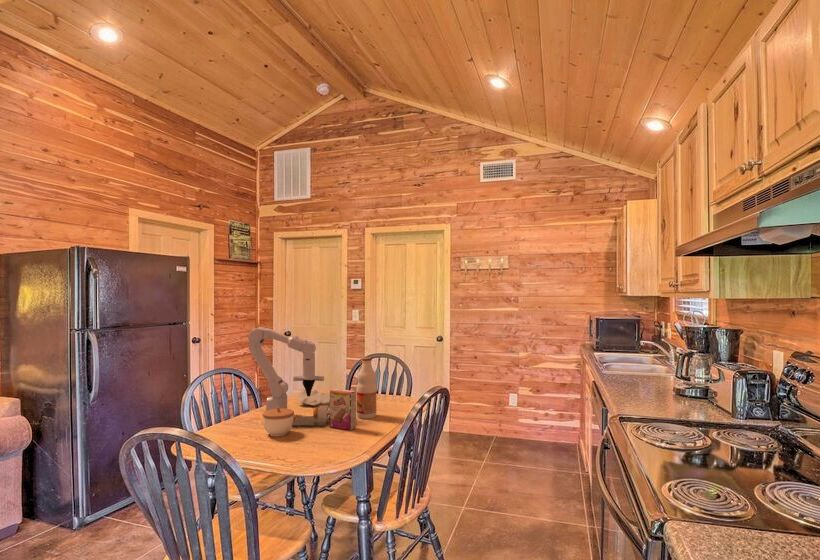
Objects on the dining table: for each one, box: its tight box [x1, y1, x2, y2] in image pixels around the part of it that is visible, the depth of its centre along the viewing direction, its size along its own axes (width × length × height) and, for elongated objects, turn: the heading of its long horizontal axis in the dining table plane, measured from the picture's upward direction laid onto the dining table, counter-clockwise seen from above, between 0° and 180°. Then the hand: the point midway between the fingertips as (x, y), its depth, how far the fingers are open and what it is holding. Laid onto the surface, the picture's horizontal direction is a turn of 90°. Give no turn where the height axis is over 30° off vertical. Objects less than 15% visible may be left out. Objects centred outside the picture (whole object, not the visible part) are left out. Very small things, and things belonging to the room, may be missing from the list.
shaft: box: [312, 406, 330, 418], centre depth 212 cm, size 9×5×5 cm, turn 91°
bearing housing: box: [291, 406, 330, 428], centre depth 212 cm, size 15×14×7 cm
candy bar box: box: [329, 388, 357, 432], centre depth 204 cm, size 11×5×16 cm, turn 65°
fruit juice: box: [356, 356, 377, 420], centre depth 222 cm, size 9×9×28 cm
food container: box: [296, 388, 330, 408], centre depth 243 cm, size 12×30×6 cm, turn 80°
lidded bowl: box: [262, 407, 295, 437], centre depth 196 cm, size 13×13×11 cm
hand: (308, 395), depth 224 cm, fingers closed
